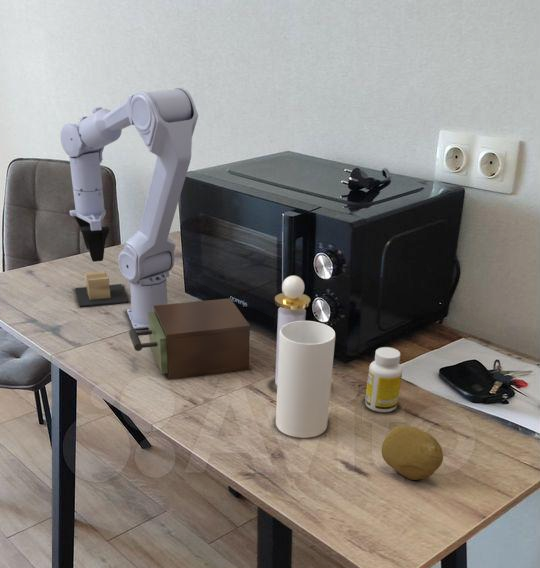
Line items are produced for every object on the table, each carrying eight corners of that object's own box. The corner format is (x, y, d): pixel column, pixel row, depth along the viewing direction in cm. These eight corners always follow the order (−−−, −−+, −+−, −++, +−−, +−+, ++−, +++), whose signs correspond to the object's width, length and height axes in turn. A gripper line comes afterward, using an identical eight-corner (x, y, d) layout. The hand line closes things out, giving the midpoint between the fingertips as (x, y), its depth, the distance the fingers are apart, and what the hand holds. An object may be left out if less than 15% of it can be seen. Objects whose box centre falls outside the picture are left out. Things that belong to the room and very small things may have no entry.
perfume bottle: (311, 389, 122) (319, 278, 111) (283, 397, 119) (289, 285, 108) (291, 375, 125) (297, 267, 114) (264, 383, 123) (268, 273, 112)
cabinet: (169, 379, 123) (167, 334, 118) (155, 348, 133) (153, 305, 128) (249, 369, 127) (250, 325, 122) (230, 339, 137) (230, 298, 132)
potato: (376, 461, 104) (383, 415, 100) (426, 460, 105) (435, 415, 100) (386, 490, 98) (393, 443, 94) (439, 489, 99) (449, 442, 95)
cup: (300, 404, 117) (306, 316, 108) (337, 424, 112) (347, 333, 103) (264, 422, 112) (268, 330, 103) (302, 444, 107) (309, 349, 98)
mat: (75, 289, 155) (75, 288, 155) (121, 285, 158) (121, 284, 158) (80, 307, 147) (79, 305, 147) (128, 302, 150) (127, 301, 150)
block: (86, 292, 153) (84, 273, 151) (107, 290, 154) (105, 271, 152) (89, 300, 150) (87, 280, 147) (110, 297, 151) (108, 278, 149)
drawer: (138, 376, 121) (135, 341, 118) (128, 348, 130) (125, 314, 127) (236, 364, 126) (236, 330, 122) (219, 338, 135) (219, 305, 131)
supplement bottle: (403, 405, 118) (411, 352, 113) (384, 417, 115) (392, 363, 109) (377, 393, 121) (384, 341, 116) (358, 404, 118) (364, 352, 112)
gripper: (62, 180, 144) (70, 245, 152) (71, 198, 133) (79, 268, 140) (97, 178, 146) (103, 242, 154) (109, 196, 135) (115, 264, 142)
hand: (94, 254), depth 147 cm, fingers open, 7 cm apart
